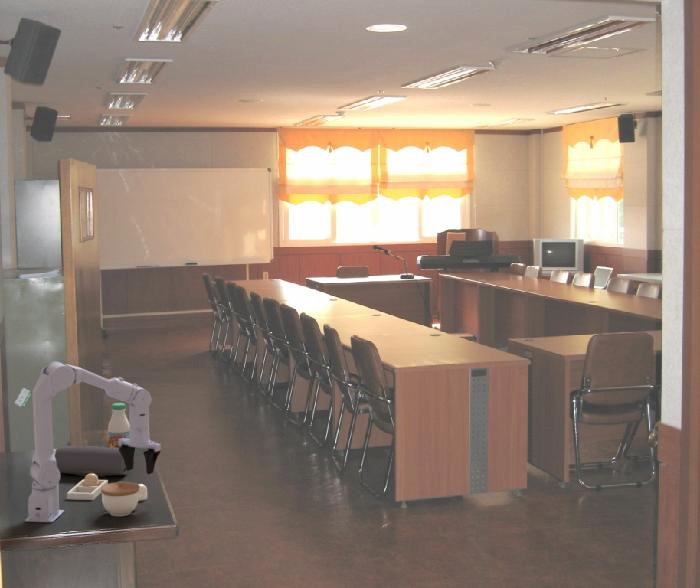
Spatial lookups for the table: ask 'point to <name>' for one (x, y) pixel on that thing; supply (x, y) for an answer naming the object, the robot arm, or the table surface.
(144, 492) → the white egg
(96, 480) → the brown egg
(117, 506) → the lidded jar
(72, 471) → the bluetooth speaker
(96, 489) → the white divided tray
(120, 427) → the milk bottle
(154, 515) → the table surface
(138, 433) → the robot arm
